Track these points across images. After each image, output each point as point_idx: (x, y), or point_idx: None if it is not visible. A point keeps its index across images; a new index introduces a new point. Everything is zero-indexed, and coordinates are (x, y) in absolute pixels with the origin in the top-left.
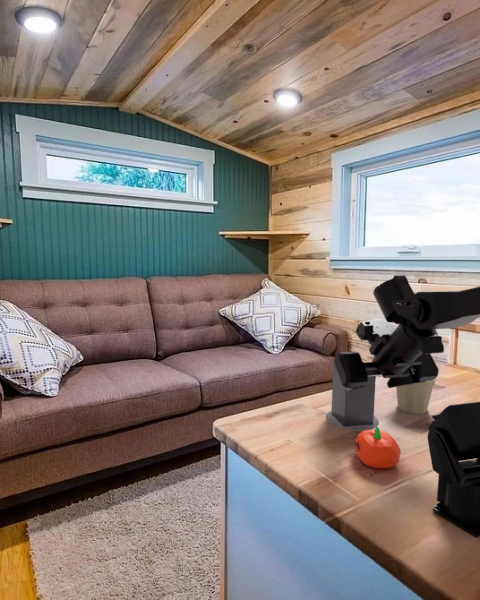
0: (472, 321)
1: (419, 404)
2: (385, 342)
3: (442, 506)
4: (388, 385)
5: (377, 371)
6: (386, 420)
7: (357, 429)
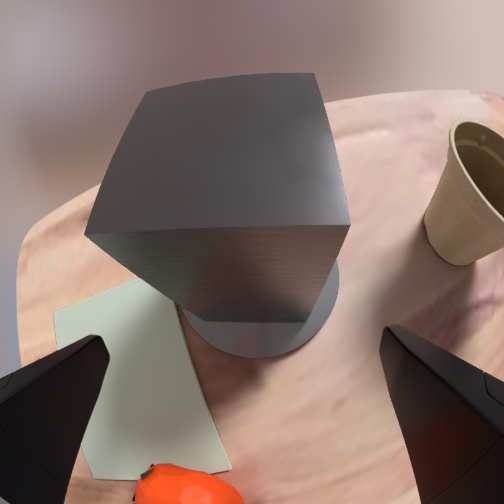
0: None
1: (474, 256)
2: None
3: None
4: (384, 346)
5: None
6: (368, 283)
7: (236, 347)
